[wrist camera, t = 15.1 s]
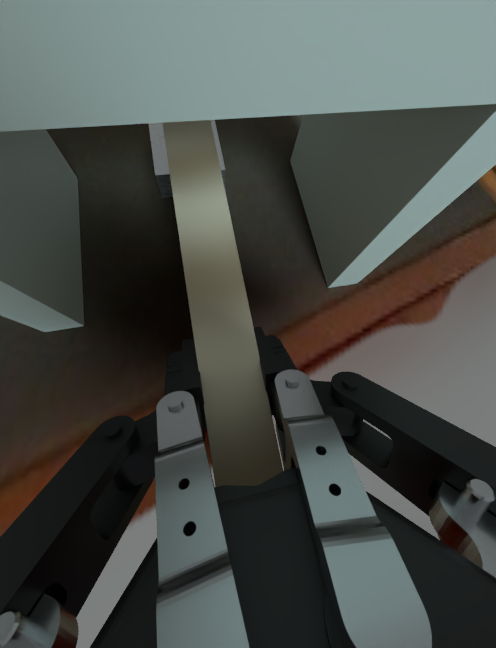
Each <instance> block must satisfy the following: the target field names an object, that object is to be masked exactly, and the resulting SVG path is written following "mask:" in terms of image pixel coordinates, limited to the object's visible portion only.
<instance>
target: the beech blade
mask: <svg viewBox="0 0 496 648" xmlns="http://www.w3.org/2000/svg"><path fill="white" fill-rule="evenodd" d="M162 124H163V131H164V138H165V145H166V151H167V158H168V165H169V172H170V179H171V186H172V192H173V199H174V206H175V213H176V220H177V226H178V233H179V240H180V247H181V254H182V261H183V267H184V274H185V281H186V288H187V295H188V302H189V308H190V315H191V322H192V329H193V336H194V342H195V349H196V356H197V363H198V370H199V371H200V376H201V383H202V390H203V397H204V411H205V417H206V424H207V431H208V438H209V445H210V452H211V458H212V465H213V472H214V479H215V486H216V487H219V486H223V485H234V486H257V485H260V484H262V483H263V482H265V481H267V480H269V479H270V478H272V477H274V476H276V475H277V474H279V473H281V472H283V468H282V463H281V459H280V453H279V449H278V444H277V439H276V434H275V429H274V425H273V420H272V415H271V410H270V405H269V400H268V396H267V392H266V390H265V385H264V380H263V375H262V371H261V366H260V361H259V360H260V357H259V352H258V347H257V342H256V338H255V333H254V328H253V323H252V318H251V314H250V309H249V304H248V299H247V294H246V289H245V285H244V280H243V275H242V270H241V265H240V261H239V256H238V251H237V246H236V241H235V236H234V232H233V227H232V222H231V217H230V212H229V207H228V203H227V198H226V193H225V188H224V183H223V179H222V174H221V169H220V164H219V159H218V154H217V150H216V145H215V140H214V135H213V130H212V125H211V121H210V120H200V121H182V122H164V123H162Z"/></svg>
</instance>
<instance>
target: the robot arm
mask: <svg viewBox="0 0 496 648" xmlns="http://www.w3.org/2000/svg"><path fill="white" fill-rule="evenodd" d="M254 333H255V338H256V342H257V347H258V352H259V357H260V360H259V361H260V366H261V371H262V375H263V380H264V385H265V390H266V392H267V396H268V400H269V405H270V410H271V415H274V417H275V420H276V431H277V436H278V441H279V446H280V451H281V455H282V460H283V465H284V471H283V472H281V473H279V474H277V475H276V476H274V477H272V478H270V479H269V480H267V481H265V482H263V483H262V484H260V485H257V486H234V485H223V486H219V487H215V488H214V484H213V479H212V475H211V470H210V466H209V462H208V457H207V453H206V448H205V444H204V441H205V435H204V430H206V429H207V424H206V417H205V411H204V397H203V390H202V383H201V376H200V371H199V370H198V363H197V356H196V349H195V342H194V338H191V339H185V340H182V350H181V351H176V352H172V354H171V355H170V356H169V358H168V359H167V369H166V380H165V391H164V397H163V398H162V399H161V400H160V401H159V403H158V404H157V408H156V410H155V411H154V412H153V413H151V414H150V415H148V416H146V417H144V418H141V419H139V420H137V421H135V422H134V421H133V419H132V418H130V417H128V416H117V417H113V418H111V419H109V420H107V421H105V422H104V423H102V424H101V425H100V426H99V427H98V428H97V429H96V430H95V431H94V432H93V433H92V434H91V435H90V437H89V438H88V439H87V440H86V441H85V442H84V443H83V444H82V446H81V447H80V448H79V449H78V450H77V451H76V452H75V454H74V455H73V456H72V457H71V458H70V459H69V460H68V461H67V463H66V464H65V465H64V466H63V467H62V468H61V469H60V470H59V472H58V473H57V474H56V475H55V476H54V477H53V478H52V479H51V481H50V482H49V483H48V484H47V485H46V486H45V487H44V489H43V490H42V491H41V492H40V493H39V494H38V495H37V496H36V498H35V499H34V500H33V501H32V502H31V503H30V504H29V505H28V507H27V508H26V509H25V510H24V511H23V512H22V513H21V514H20V516H19V517H18V518H17V519H16V520H15V521H14V522H13V523H12V525H11V526H10V527H9V528H8V529H7V530H6V531H5V533H4V534H3V535H2V536H1V537H0V648H76V645H77V640H78V623H77V620H76V617H77V615H78V613H79V612H80V610H81V608H82V606H83V605H84V602H85V601H86V599H87V597H88V596H89V594H90V592H91V590H92V588H93V587H94V585H95V583H96V581H97V579H98V577H99V576H100V574H101V572H102V571H103V569H104V567H105V565H106V563H107V562H108V560H109V558H110V556H111V554H112V553H113V551H114V549H115V548H116V546H117V544H118V542H119V540H120V539H121V537H122V535H123V533H124V531H125V530H126V528H127V526H128V524H129V523H130V521H131V519H132V517H133V515H134V514H135V512H136V510H137V508H138V507H139V505H140V503H141V501H142V499H143V498H144V496H145V494H146V492H147V491H148V489H149V487H150V485H151V483H152V481H153V479H154V477H155V485H156V514H157V539H156V540H155V542H154V543H153V545H152V547H151V548H150V550H149V552H148V553H147V555H146V557H145V558H144V560H143V561H142V563H141V565H140V566H139V568H138V570H137V571H136V573H135V575H134V576H133V578H132V580H131V581H130V583H129V585H128V586H127V588H126V589H125V591H124V593H123V594H122V596H121V597H120V599H119V601H118V603H117V604H116V606H115V607H114V609H113V611H112V612H111V614H110V616H109V617H108V619H107V620H106V622H105V624H104V625H103V627H102V629H101V630H100V632H99V634H98V635H97V637H96V638H95V640H94V642H93V643H92V645H91V647H90V648H496V447H494V446H492V445H491V444H489V443H487V442H485V441H483V440H481V439H479V438H477V437H476V436H474V435H472V434H470V433H468V432H466V431H464V430H462V429H460V428H459V427H457V426H455V425H453V424H451V423H449V422H447V421H445V420H443V419H442V418H440V417H438V416H436V415H434V414H432V413H430V412H428V411H427V410H425V409H423V408H421V407H419V406H417V405H415V404H413V403H412V402H409V401H408V400H406V399H404V398H402V397H400V396H398V395H396V394H395V393H393V392H391V391H389V390H387V389H385V388H383V387H381V386H380V385H378V384H376V383H374V382H372V381H370V380H368V379H366V378H365V377H363V376H361V375H359V374H356V373H353V372H340V373H337V374H335V375H334V376H333V377H332V380H331V382H324V381H313V380H310V379H309V377H308V376H307V375H306V374H305V373H303V372H301V371H298V370H297V368H296V367H295V365H294V363H293V362H292V360H291V358H290V356H289V355H288V353H287V352H286V350H285V348H284V347H283V344H282V343H281V341H280V339H278V338H276V337H275V336H273V335H269V336H265V334H264V332H263V330H262V328H261V327H257V328H254ZM363 419H364V420H366V421H367V422H369V423H370V424H372V425H373V426H375V427H377V428H378V429H380V430H381V431H383V432H384V433H386V434H387V435H388V436H389V437H390V438H391V439H392V440H391V439H389V438H388V437H386V436H384V435H383V434H382V433H380V432H379V431H377V430H376V429H374V428H373V427H371V426H370V425H368V424H366V423H365V422H363ZM349 454H350V455H352V456H353V457H354V458H355V459H357V460H358V461H359V462H360V463H362V464H363V465H364V466H366V467H367V468H368V469H369V470H371V471H372V472H373V473H375V474H376V475H377V476H378V477H380V478H381V479H382V480H383V481H385V482H386V483H387V484H389V485H390V486H391V487H393V488H394V489H395V490H396V491H398V492H399V493H400V494H402V495H403V496H404V497H405V498H407V499H408V500H409V501H410V502H412V503H413V504H414V505H415V506H417V507H418V508H419V509H421V510H422V511H423V512H424V513H426V514H427V515H428V516H429V517H430V521H431V523H432V525H433V527H434V529H435V530H436V532H437V534H438V537H439V539H440V540H438V539H437V538H435V537H434V536H432V535H431V534H429V533H428V532H426V531H425V530H423V529H422V528H420V527H419V526H417V525H416V524H414V523H413V522H411V521H410V520H408V519H407V518H405V517H404V516H402V515H401V514H400V513H398V512H396V511H395V510H393V509H392V508H390V507H389V506H387V505H386V504H384V503H383V502H382V501H380V500H379V499H377V498H376V497H374V496H373V495H371V494H370V493H368V492H366V491H365V489H364V487H363V485H362V482H361V480H360V478H359V476H358V473H357V471H356V469H355V467H354V465H353V462H352V460H351V458H350V455H349Z"/></svg>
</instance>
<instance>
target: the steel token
mask: <svg viewBox="0 0 496 648" xmlns="http://www.w3.org/2000/svg"><path fill="white" fill-rule="evenodd" d="M210 121H211V125H212V130H213V135H214V140H215V145H216V150H217V154H218V159H219V164H220V169H221V174H222V179H223V183H224V188H225V166H224V161H223V156H222V152H221V147H220V142H219V137H218V133H217V128H216V123H215V120H210ZM148 124H149V131H150V139H151V147H152V155H153V162H154V170H155V176H156V180H157V183H158V187H159V190H160V193H161V197H162V198H165V197H173V192H172V186H171V179H170V172H169V165H168V158H167V151H166V145H165V138H164V131H163V124H162V123H148Z"/></svg>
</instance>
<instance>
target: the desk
mask: <svg viewBox="0 0 496 648" xmlns="http://www.w3.org/2000/svg"><path fill="white" fill-rule="evenodd" d="M289 115H303V118H302V121H301V125H300V128H299V132H298V135H297V139H296V142H295V146H294V149H293V153H292V156H291V160H290V162H291V166H292V169H293V172H294V176H295V179H296V182H297V186H298V189H299V193H300V196H301V199H302V203H303V206H304V209H305V213H306V216H307V219H308V223H309V226H310V229H311V233H312V236H313V239H314V243H315V246H316V249H317V253H318V256H319V260H320V263H321V266H322V270H323V273H324V276H325V280H326V283H327V286H328V288H331V287H337V286H344V285H350V284H356V283H358V282H359V281H361V280H362V279H363V278H364V277H365V276H366V275H368V274H369V273H370V272H371V271H372V270H373V269H375V268H376V267H377V266H378V265H379V264H380V263H382V262H383V261H384V260H385V259H386V258H387V257H388V256H390V255H391V254H392V253H393V252H394V251H395V250H397V249H398V248H399V247H400V246H401V245H402V244H404V243H405V242H406V241H407V240H408V239H409V238H411V237H412V236H413V235H414V234H415V233H416V232H418V231H419V230H420V229H421V228H422V227H423V226H425V225H426V224H427V223H428V222H429V221H430V220H431V219H433V218H434V217H435V216H436V215H437V214H438V213H440V212H441V211H442V210H443V209H444V208H445V207H447V206H448V205H449V204H450V203H451V202H452V201H454V200H455V199H456V198H457V197H458V196H459V195H461V194H462V193H463V192H464V191H465V190H466V189H468V188H469V187H470V186H471V185H472V184H473V183H474V182H476V181H477V180H478V179H479V178H480V177H481V176H483V175H484V174H485V173H486V172H487V171H488V170H490V169H491V168H492V167H493V166H494V165H495V164H496V0H0V315H1V316H4V317H6V318H9V319H11V320H14V321H17V322H19V323H22V324H25V325H27V326H30V327H32V328H35V329H38V330H40V331H43V332H50V331H56V330H63V329H69V328H75V327H82V326H84V306H83V284H82V263H81V241H80V219H79V197H78V178H77V177H76V175H75V174H74V172H73V170H72V169H71V167H70V166H69V164H68V163H67V161H66V160H65V158H64V157H63V155H62V154H61V152H60V151H59V149H58V147H57V146H56V144H55V143H54V141H53V140H52V138H51V137H50V135H49V134H48V132H47V131H46V129H57V128H75V127H93V126H110V125H128V124H146V123H164V122H182V121H200V120H218V119H236V118H254V117H271V116H289Z"/></svg>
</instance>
